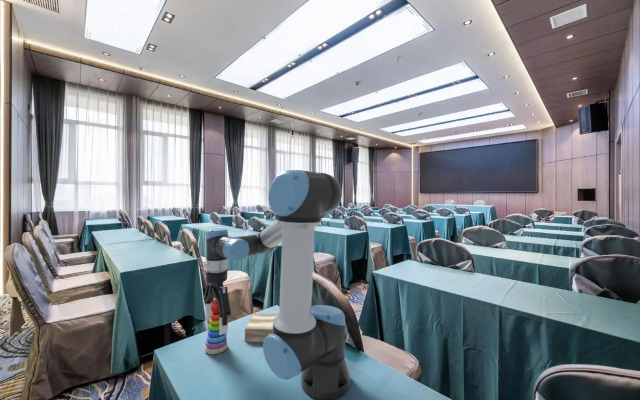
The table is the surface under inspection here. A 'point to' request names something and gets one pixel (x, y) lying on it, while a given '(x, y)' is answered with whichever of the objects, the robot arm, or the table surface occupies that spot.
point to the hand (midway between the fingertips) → (216, 326)
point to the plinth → (259, 327)
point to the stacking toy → (215, 332)
